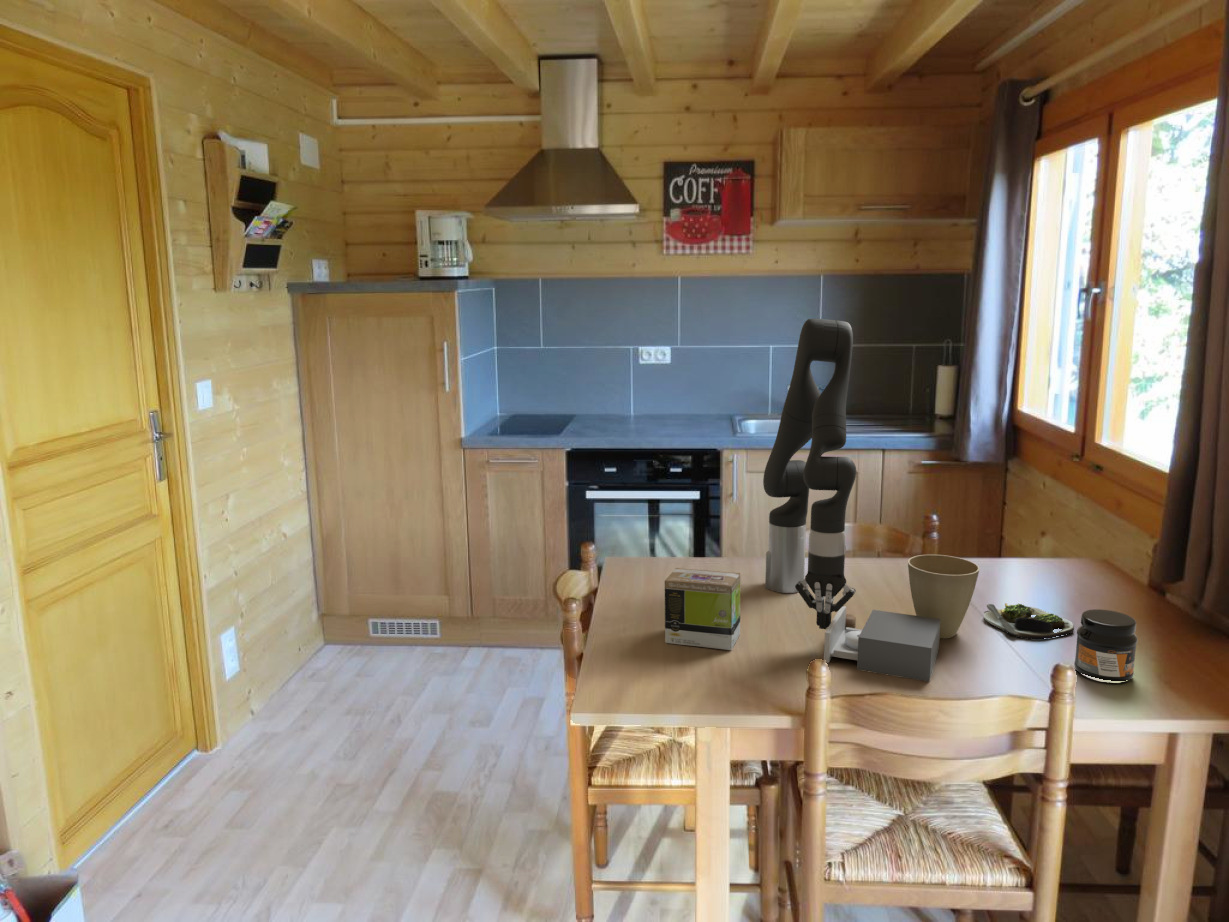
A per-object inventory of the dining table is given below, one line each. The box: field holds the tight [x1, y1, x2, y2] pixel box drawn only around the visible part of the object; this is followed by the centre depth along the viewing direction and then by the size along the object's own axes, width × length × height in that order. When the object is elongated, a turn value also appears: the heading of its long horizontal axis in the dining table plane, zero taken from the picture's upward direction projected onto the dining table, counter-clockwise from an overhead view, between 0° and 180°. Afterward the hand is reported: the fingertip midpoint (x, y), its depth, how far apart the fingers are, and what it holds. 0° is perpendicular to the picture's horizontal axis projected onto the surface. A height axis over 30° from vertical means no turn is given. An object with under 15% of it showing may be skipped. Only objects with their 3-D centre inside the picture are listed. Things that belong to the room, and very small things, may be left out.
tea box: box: [664, 567, 741, 651], centre depth 199 cm, size 15×10×15 cm, turn 71°
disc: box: [845, 631, 861, 650], centre depth 192 cm, size 6×6×2 cm
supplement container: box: [1073, 608, 1138, 681], centre depth 180 cm, size 10×10×12 cm
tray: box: [823, 605, 863, 663], centre depth 191 cm, size 14×17×6 cm
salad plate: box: [983, 603, 1075, 640], centre depth 208 cm, size 19×18×5 cm
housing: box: [856, 609, 941, 682], centre depth 188 cm, size 14×17×7 cm
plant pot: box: [907, 554, 980, 639], centre depth 202 cm, size 15×15×16 cm
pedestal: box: [845, 613, 857, 631], centre depth 204 cm, size 4×4×4 cm
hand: (823, 627), depth 195 cm, fingers closed
